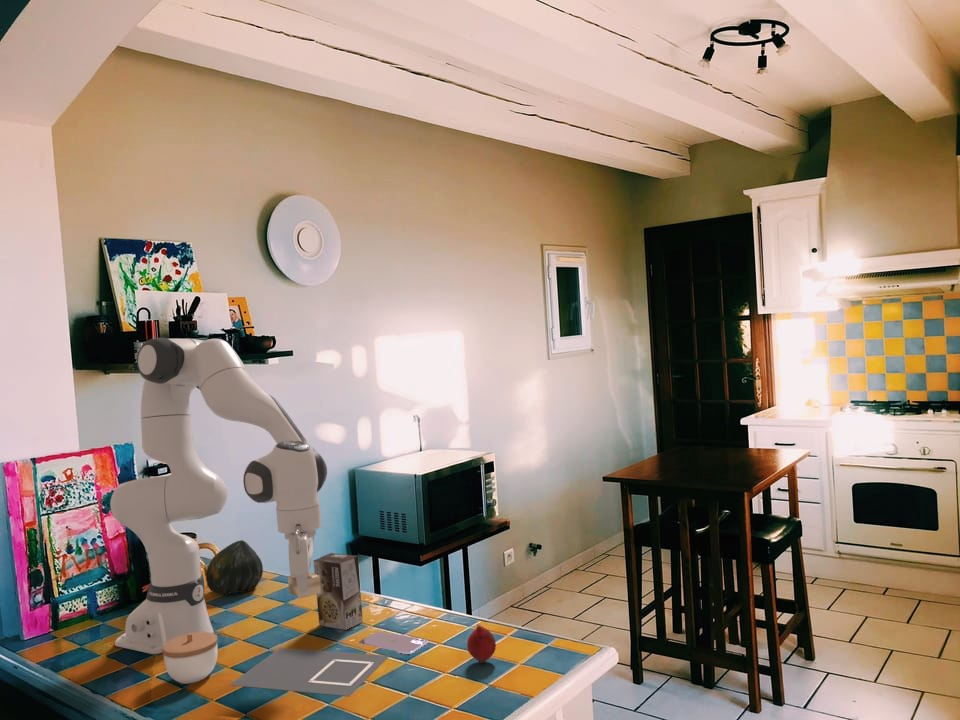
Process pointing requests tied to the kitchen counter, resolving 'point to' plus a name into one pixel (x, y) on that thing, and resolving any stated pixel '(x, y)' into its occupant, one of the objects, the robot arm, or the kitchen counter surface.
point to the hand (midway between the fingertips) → (304, 586)
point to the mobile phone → (394, 642)
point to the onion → (481, 644)
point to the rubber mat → (312, 671)
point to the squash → (234, 569)
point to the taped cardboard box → (312, 583)
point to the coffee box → (338, 591)
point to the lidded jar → (191, 656)
